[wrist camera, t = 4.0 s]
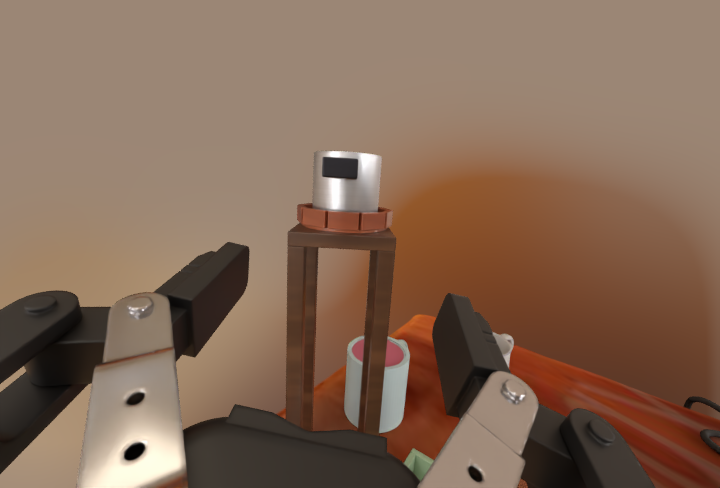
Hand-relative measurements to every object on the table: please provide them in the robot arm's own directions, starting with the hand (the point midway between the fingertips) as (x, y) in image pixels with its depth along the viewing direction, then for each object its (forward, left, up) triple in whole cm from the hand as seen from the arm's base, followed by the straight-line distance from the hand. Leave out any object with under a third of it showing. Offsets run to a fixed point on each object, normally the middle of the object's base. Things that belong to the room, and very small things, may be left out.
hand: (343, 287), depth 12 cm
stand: (-14, -11, -30) cm, 35 cm away
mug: (-28, -12, -30) cm, 43 cm away
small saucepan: (-10, -8, 0) cm, 13 cm away
